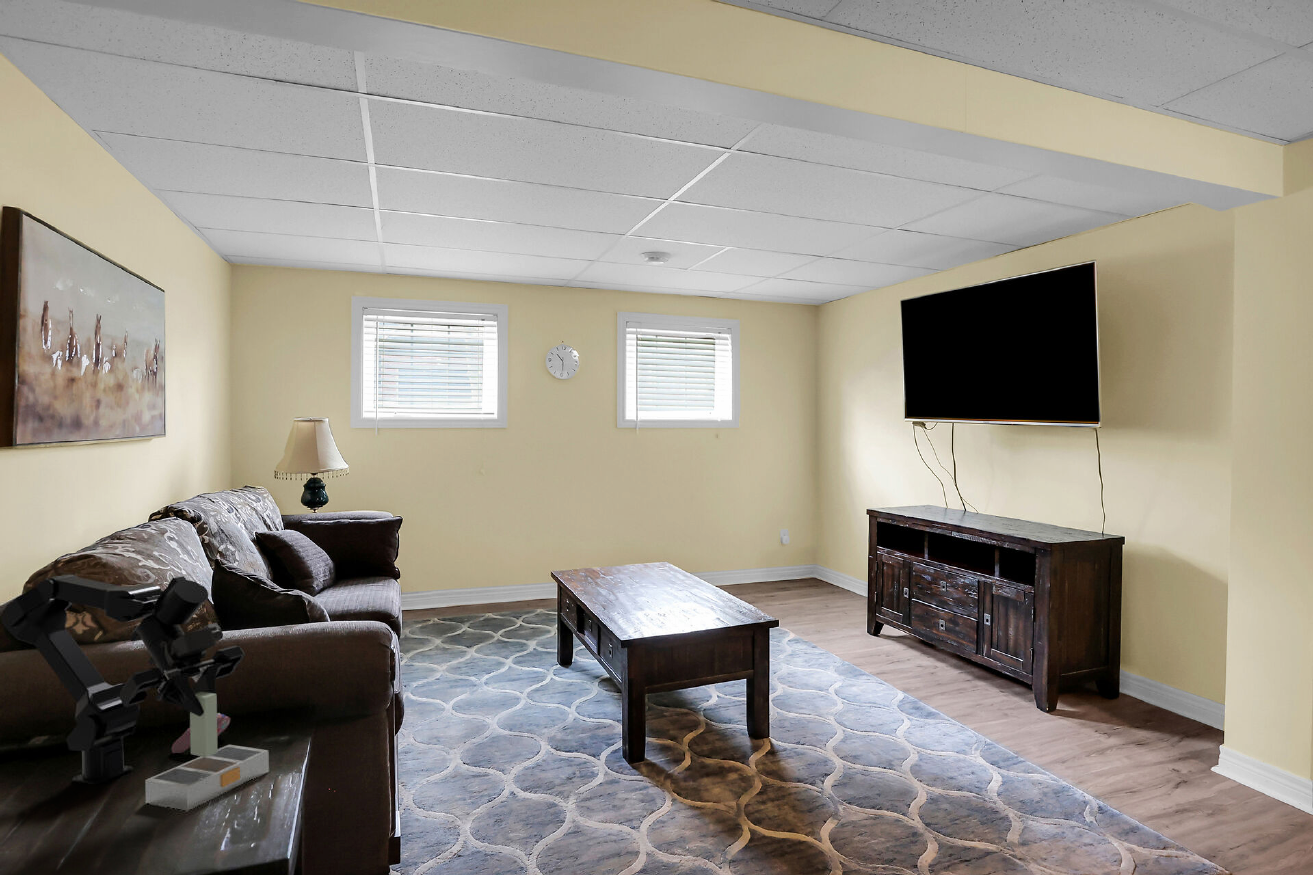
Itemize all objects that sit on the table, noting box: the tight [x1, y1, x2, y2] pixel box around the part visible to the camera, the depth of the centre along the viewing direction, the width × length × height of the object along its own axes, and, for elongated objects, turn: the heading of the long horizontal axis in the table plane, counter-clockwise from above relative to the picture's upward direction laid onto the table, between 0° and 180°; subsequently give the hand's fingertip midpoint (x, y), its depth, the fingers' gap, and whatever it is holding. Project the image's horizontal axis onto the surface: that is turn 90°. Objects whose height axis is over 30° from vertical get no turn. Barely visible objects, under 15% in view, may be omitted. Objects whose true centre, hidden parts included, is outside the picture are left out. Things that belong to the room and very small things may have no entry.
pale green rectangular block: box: [189, 692, 218, 757], centre depth 121 cm, size 4×2×10 cm, turn 66°
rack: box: [144, 744, 270, 812], centre depth 122 cm, size 10×15×4 cm
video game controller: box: [171, 712, 231, 754], centre depth 141 cm, size 10×5×7 cm, turn 169°
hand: (208, 711), depth 121 cm, fingers closed on pale green rectangular block, 2 cm apart
